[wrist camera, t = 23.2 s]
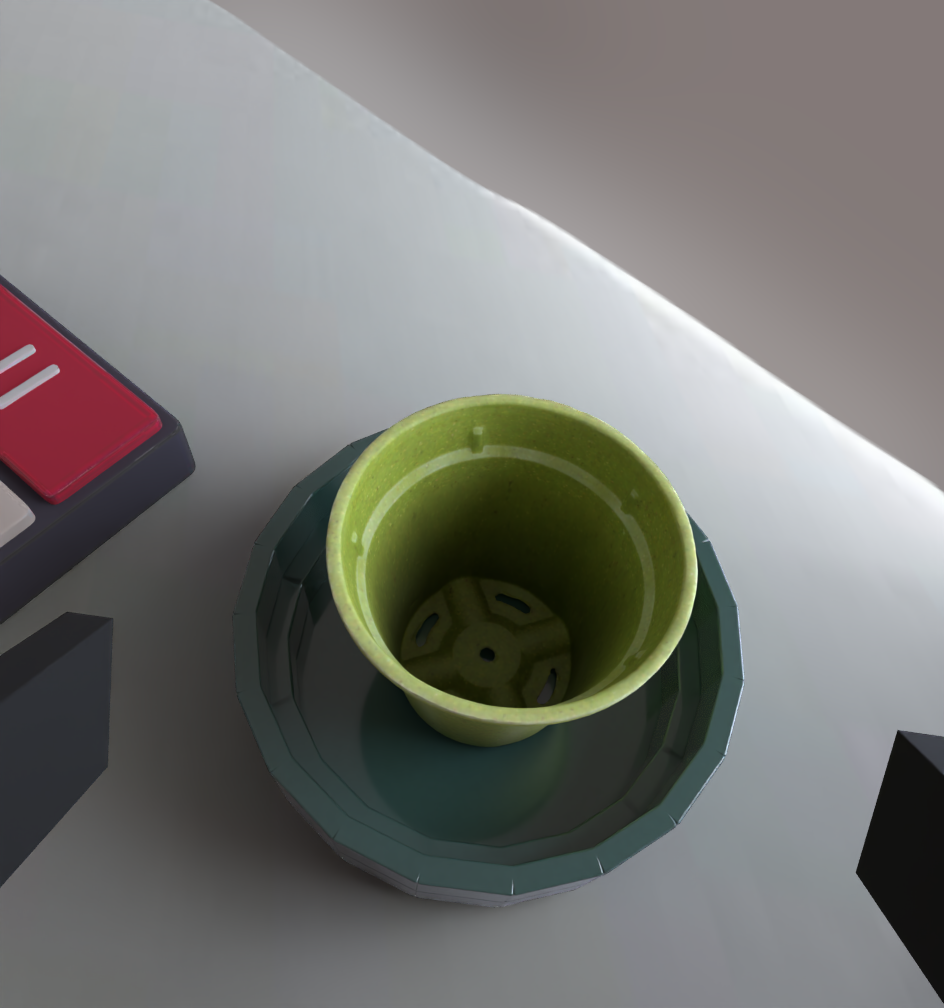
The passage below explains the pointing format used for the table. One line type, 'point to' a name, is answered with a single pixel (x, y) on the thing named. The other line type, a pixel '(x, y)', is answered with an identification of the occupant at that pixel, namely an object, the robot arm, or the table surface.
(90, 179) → the table surface
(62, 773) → the robot arm
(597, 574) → the plant pot
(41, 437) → the calculator
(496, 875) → the bowl
